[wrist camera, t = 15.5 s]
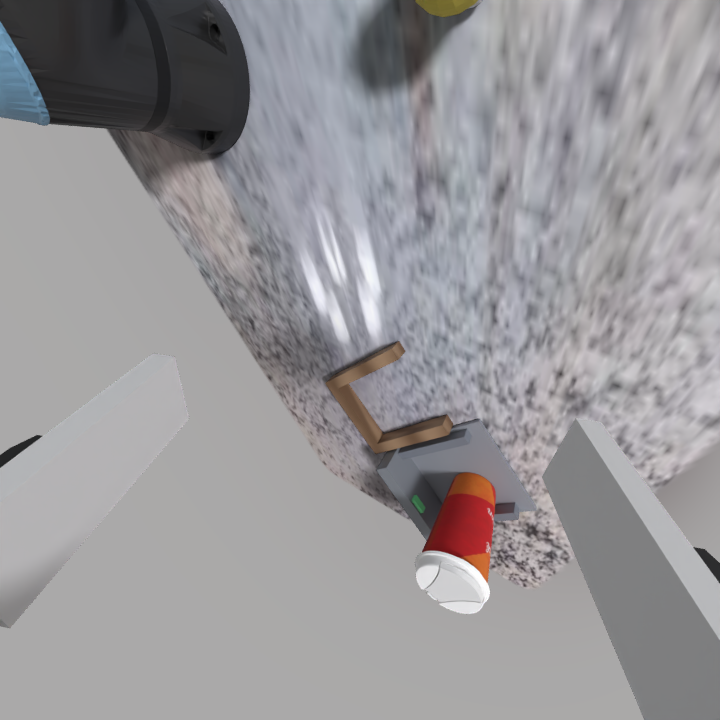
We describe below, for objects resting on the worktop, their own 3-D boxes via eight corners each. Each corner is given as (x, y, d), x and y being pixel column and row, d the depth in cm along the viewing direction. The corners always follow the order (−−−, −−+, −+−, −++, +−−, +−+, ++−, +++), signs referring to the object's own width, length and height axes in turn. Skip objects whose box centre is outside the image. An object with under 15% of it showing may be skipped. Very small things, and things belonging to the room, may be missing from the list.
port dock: (442, 515, 54) (431, 547, 49) (392, 443, 52) (376, 470, 47) (536, 506, 45) (534, 545, 40) (479, 418, 43) (470, 449, 38)
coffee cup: (479, 518, 50) (455, 623, 38) (434, 482, 51) (398, 574, 39) (519, 495, 44) (506, 609, 33) (468, 455, 45) (438, 552, 34)
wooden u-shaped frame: (381, 444, 53) (375, 454, 51) (333, 375, 51) (325, 383, 49) (453, 424, 45) (448, 434, 43) (398, 341, 43) (391, 348, 41)
